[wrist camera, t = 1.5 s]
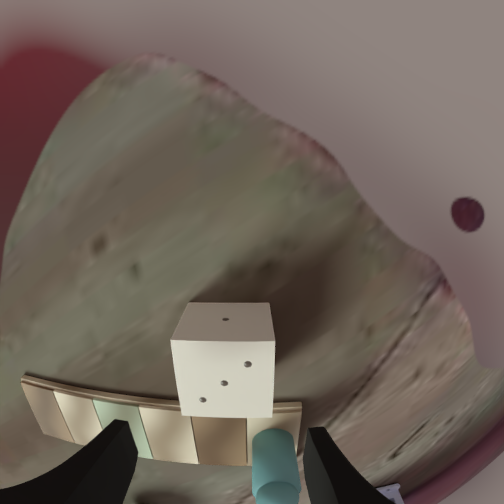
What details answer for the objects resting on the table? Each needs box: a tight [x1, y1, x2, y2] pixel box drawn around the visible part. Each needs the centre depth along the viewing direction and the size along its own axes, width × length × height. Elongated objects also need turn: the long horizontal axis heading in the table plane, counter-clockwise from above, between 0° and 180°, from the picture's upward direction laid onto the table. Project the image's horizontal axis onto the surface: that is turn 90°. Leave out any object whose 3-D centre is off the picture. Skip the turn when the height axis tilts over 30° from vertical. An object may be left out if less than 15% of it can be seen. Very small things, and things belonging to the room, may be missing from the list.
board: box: [21, 375, 302, 466], centre depth 21 cm, size 24×7×1 cm, turn 90°
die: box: [171, 302, 275, 418], centre depth 17 cm, size 5×5×5 cm
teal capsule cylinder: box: [252, 428, 301, 504], centre depth 17 cm, size 3×3×7 cm
